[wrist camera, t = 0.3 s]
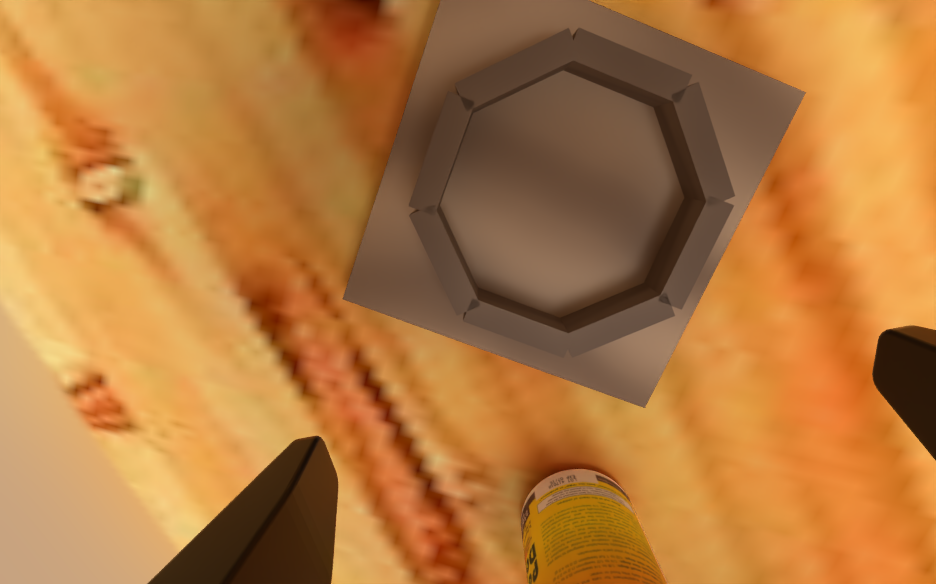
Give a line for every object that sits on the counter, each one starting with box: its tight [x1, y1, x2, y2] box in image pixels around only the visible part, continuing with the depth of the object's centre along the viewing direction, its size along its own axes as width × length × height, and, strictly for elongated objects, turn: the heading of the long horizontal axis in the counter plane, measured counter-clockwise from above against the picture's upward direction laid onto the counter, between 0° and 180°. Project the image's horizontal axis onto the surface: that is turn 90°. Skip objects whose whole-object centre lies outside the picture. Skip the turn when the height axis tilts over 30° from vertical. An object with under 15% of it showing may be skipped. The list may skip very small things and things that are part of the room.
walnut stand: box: [343, 0, 806, 408], centre depth 20 cm, size 14×14×4 cm
